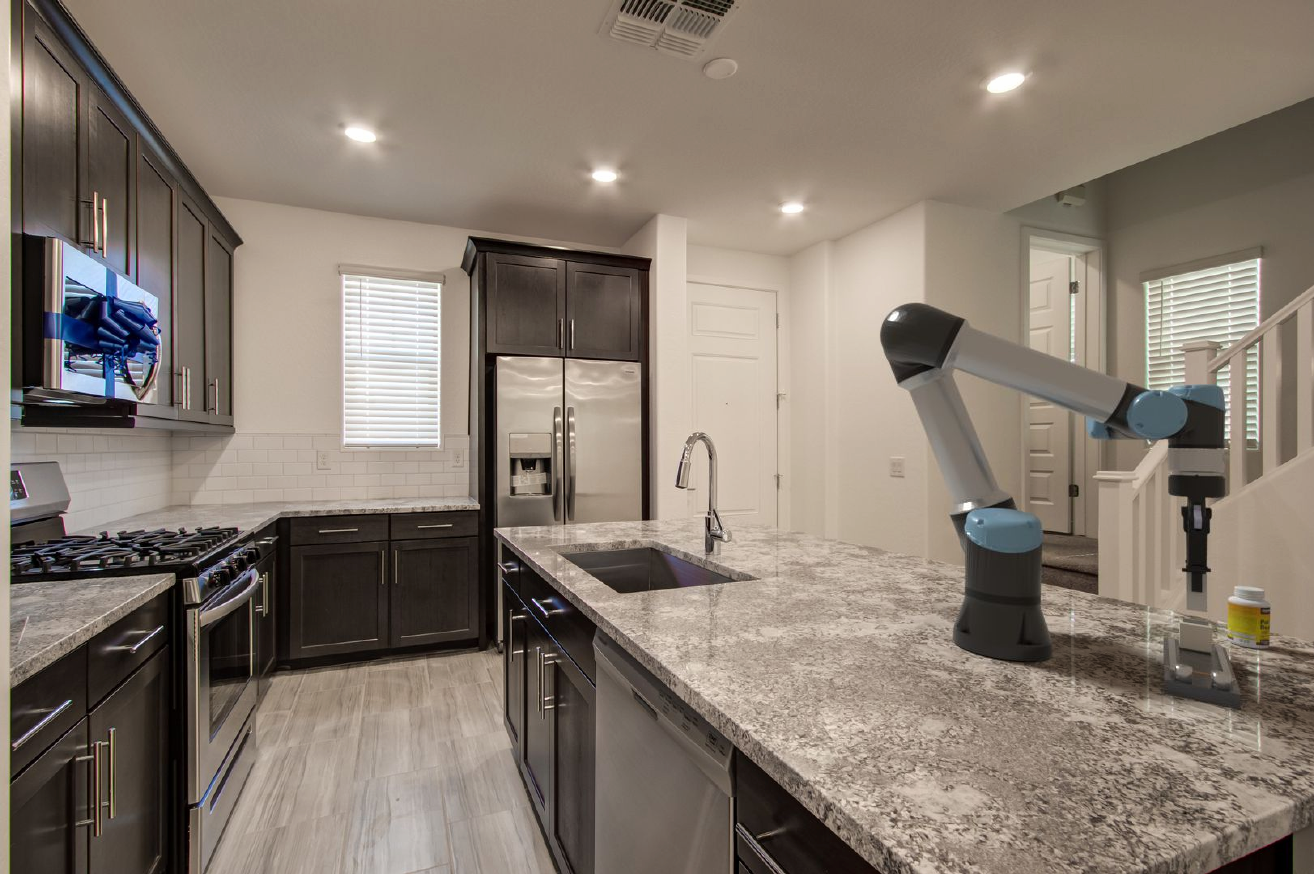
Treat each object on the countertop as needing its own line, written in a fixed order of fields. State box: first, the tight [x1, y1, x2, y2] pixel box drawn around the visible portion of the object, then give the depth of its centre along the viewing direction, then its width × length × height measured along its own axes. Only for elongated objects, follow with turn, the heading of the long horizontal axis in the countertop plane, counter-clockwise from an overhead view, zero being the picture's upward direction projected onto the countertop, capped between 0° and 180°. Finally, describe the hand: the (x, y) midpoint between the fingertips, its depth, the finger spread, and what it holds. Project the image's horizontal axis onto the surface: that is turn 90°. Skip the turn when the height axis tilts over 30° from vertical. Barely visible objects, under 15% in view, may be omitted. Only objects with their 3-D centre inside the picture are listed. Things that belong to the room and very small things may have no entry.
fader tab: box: [1178, 617, 1213, 653], centre depth 103 cm, size 4×3×5 cm
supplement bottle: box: [1227, 585, 1271, 650], centre depth 113 cm, size 6×6×10 cm
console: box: [1162, 636, 1242, 710], centre depth 97 cm, size 8×26×4 cm, turn 141°
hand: (1196, 609), depth 108 cm, fingers closed
